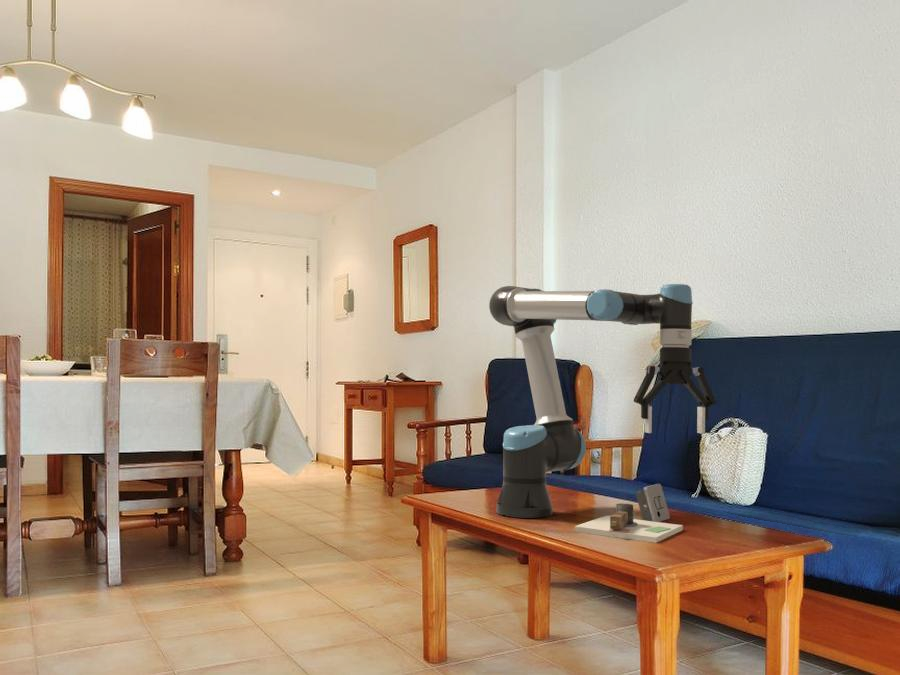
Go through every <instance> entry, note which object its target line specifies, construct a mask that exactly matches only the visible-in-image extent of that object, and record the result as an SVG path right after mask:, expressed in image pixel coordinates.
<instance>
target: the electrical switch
mask: <svg viewBox="0 0 900 675" xmlns="http://www.w3.org/2000/svg"><path fill="white" fill-rule="evenodd" d="M663 490H664V489H663V486H662V485H661V483H655V484H652V485H648V486H644V487H643V490H642V489H641V490H638V491H636V492H635V497H636V499H637V500H636V501H637V503H638V506H639V511H640V514H641V517H642V520H645V521H653V522H661V523H662V522H663V521H666V520H669V519H670V518H671V516H670V511H669V508H668V505H667V502H666V498H665V493H664V491H663Z"/></svg>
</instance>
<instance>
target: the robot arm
mask: <svg viewBox="0 0 900 675" xmlns="http://www.w3.org/2000/svg"><path fill="white" fill-rule="evenodd" d="M488 305H489V306H488V307H489V312H490V315H491V317H492V318H493V320H495V321H496V322H498V323H499V324H501V325H503V326H507V327H513V330H514V333H515V337H516V338H517V339H519V340H520V341H521V343H522V348H523V354H524V355H523V356H524V359H525V365H526V369H527V370H526V371H527V375H528V381H529V386H530V391H531V395H532V396H531V397H532V402H533V408H534V411H535V416H536V417H535V418H536V420H535V423H534V424H529V425H527V424H526V425H518V426H514V427H510V428H508V429H506V430H505V431H504V433H503V442H502V472H503V473H502V474H503V475H502V479H503V480H502V486H501V489H500V493H499V495H498V499H497V502H496V513H497V514H498V515H499V516H503V515H505V517H509V516H510V518H517V519H518V518H520V519H534V518H535V519H538V518H546V517H550V516H552V515H553V508H554V506H553V503H552V500H551V497H550V494H549V491H548V487H547V473H548V472H557V471H561V472H563V471H568V470H571V469H574V468H576V467H577V466H579V465H580V464H581V463H582V461H583V459H584V458H585V456H586V451H587V444H586V443H587V442H586V438H585V437H584V435H583V433H581V432H580V430H578V429H576V428H575V424H574V420H573V418H572V417H570V416H568V415H567V411H566V406H565V400H564V398H563V392H562V387H561V381H560V377H559V373H558V368H557V366H558V365H557V362H556V356H555V353H554V346H553V341H552V337H551V335H552V334H553V332H554V330H555V323H557V320H559V321H560V320H562V321H564V320H565V321H595V322H613V323H614V322H616V323H617V322H618V323H619V322H620V323H621V324H623V325H629V326H632V325H633V326H637V325H647V324H648V325H649V324H657V325H658V324H659V345H660V346H662V347H660V349H659V366H658V367H657V366H655V365H647V367H646V372H645V376H644V377H643V379H642V382H641V383H640V386H639V388H638V389H637V392H636V394H635V397H634V398H633V402H634V403H636V404H638V405H640V410H641V411H640V413H641V414H640V417H641V420H642V419H643V420H644V430H643V431H644V433H646V434H647V433H648V434H652V428H653V427H652V426H653V425H652V422H653V421H652V418H653V416H652V415H653V414H652V412H653V407H652V405H650V404H651V403H652V402H653V400H654V399H655V398H656V397H657V395H658V394H659V393H660V392H661V391H662V389H663V388H664V387H666V386H667V385H681V386H684V387H685V388H687V390H688V391H689V393H690V394H691V395H692V396H693V398H694V399H695V400H696V401H697V402H698V404H699V405H700V406H697V407H696V408H697V410H696V413H697V416H696V418H697V419H696V422H697V423H696V430H697V431H696V433H697V434H701V435H706V421H708V420H709V408H710V407H711V406H713V405H716V404H717V399H716V398H715V396H714V394H713V391H712V389H711V387H710V384H709V383H708V381H707V378H706V376H705V369H704V367H703V366H696V367H692V349H691V346H692V338H693V337H692V336H693V334H692V332H693V331H692V319H693V318H692V317H693V316H692V315H693V314H692V313H693V312H692V310H693V295H692V288H691V286H690V285H688V284H683V283H668V284H662V285H661V287H660V292H659V293H654V294H653V293H652V294H638V293H630V292H623V291H617V290H613V289H607V288H606V289H605V288H604V289H597V290H556V291H555V290H553V291H549V290H548V291H547V290H542V289H540V288H529V287H521V286H515V285H514V286H513V285H507V286H501V287H500V288H498V289H496V290H495V291H494V292H493V293H492V295H491V297H490V299H489V304H488ZM657 374H659V375H660V378H659V379H658V380H657V381H656V383H655V384H654V386H653V387H652V388H651V389H650V390H649V388H650V387H651V384H652V383H653V382H652V381H653V380H654V377H655V376H656V375H657ZM692 374H693V376H694V377H695V378H696V381H697V383H698V386H699V387H700V389H701V390H699V388H698V387H697V386H696V385H695V382H694V381H693V380H692V379H691V375H692ZM648 390H649V392H648ZM701 391H702V392H701ZM647 392H648V393H647Z"/></svg>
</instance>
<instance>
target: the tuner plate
mask: <svg viewBox="0 0 900 675" xmlns="http://www.w3.org/2000/svg"><path fill="white" fill-rule="evenodd" d="M610 516H611V515H603V516H601V517H598V518H595V519H592V520H589V521H586V522H583V523H581V524H577V525H575V526H574V532H577V533H583V534H589V535H590V534H591V535H598V536H605V537H611V538H619V539H626V540H631V541H632V540H633V541H639V542H648V543H655V544H657V543H659V542H661V541H663V540H665V539H667V538H670V537H672V536H674V535H676V534H678V533H680V532H682V531H683V530H684V529H683V527H684V525H683V524H675V523H668V522H662V521H661V522H653V521H645V520H643V519H636V518H633V524H631V525H625V526H624V527H622V528H621V529H620V530H619V529H610Z"/></svg>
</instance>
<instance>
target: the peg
mask: <svg viewBox="0 0 900 675" xmlns="http://www.w3.org/2000/svg"><path fill="white" fill-rule="evenodd" d="M615 506H616V512H615V513H613V514H611V515H609V516H610V529H619V530H620V529H621V528H622V527H624V526H625V525H631V524H633V519H634V504H631V503H622V502H621V503H616V505H615Z"/></svg>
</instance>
